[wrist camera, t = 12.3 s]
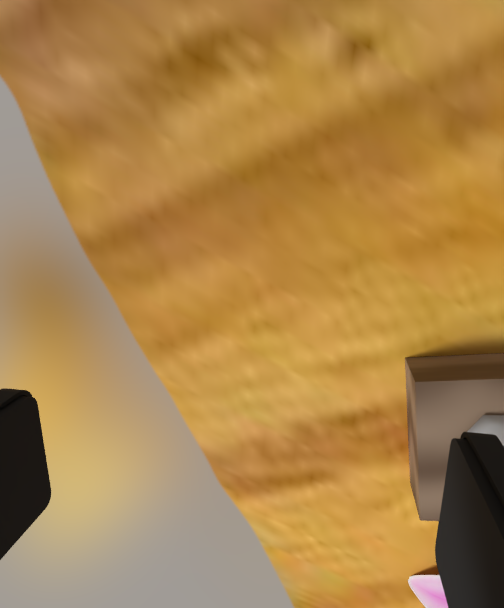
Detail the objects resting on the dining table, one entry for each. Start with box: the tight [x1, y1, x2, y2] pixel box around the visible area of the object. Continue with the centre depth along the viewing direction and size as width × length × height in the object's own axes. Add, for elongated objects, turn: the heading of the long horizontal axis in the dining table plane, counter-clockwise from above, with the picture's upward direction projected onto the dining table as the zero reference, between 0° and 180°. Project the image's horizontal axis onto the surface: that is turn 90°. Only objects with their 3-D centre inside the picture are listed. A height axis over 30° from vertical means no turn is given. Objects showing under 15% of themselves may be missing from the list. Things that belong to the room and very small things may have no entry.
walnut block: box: [405, 353, 504, 521], centre depth 33 cm, size 12×12×5 cm
